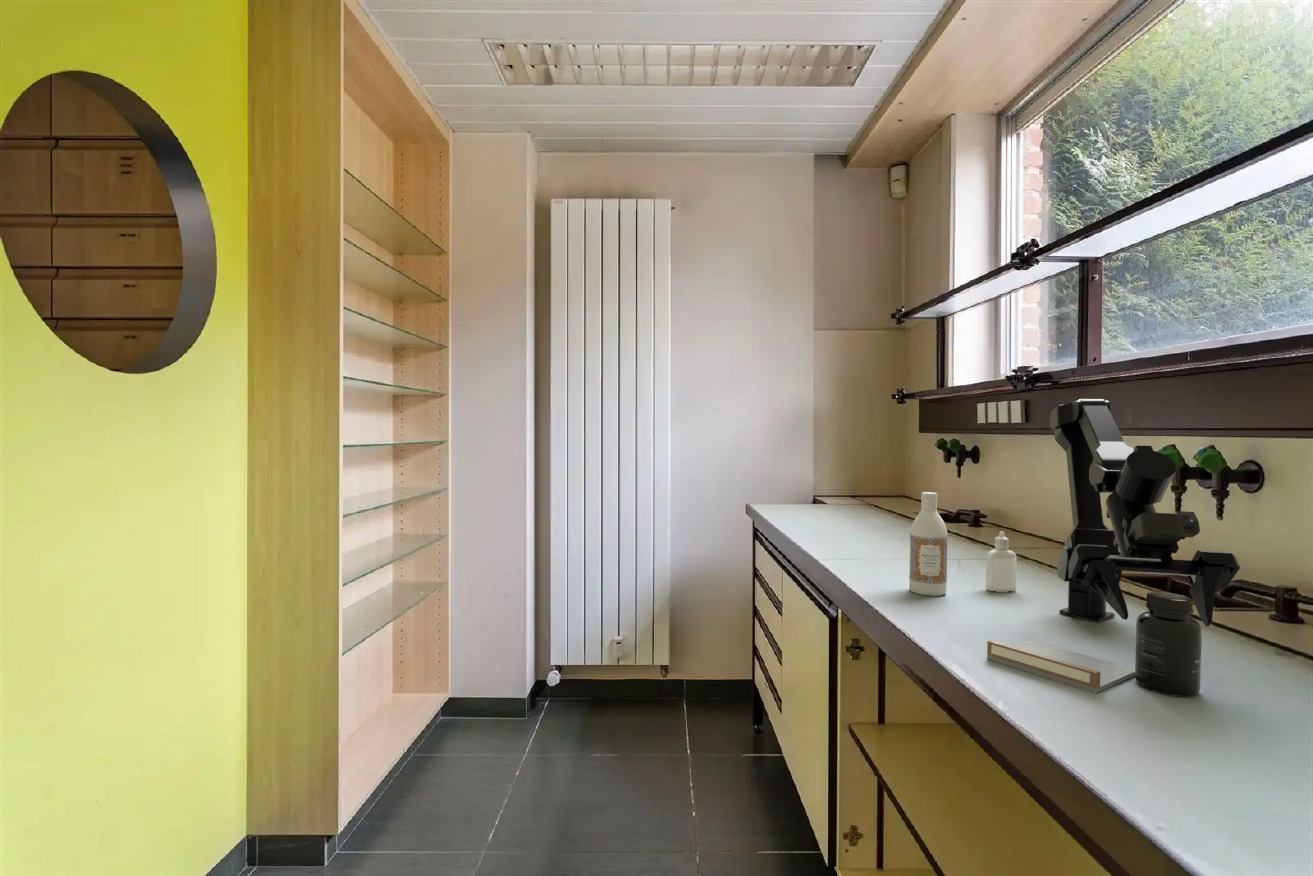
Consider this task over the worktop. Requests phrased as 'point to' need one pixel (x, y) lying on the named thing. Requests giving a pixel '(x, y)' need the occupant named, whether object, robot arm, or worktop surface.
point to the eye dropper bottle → (1001, 566)
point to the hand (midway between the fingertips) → (1166, 621)
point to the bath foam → (928, 550)
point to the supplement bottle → (1168, 646)
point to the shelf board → (1060, 665)
